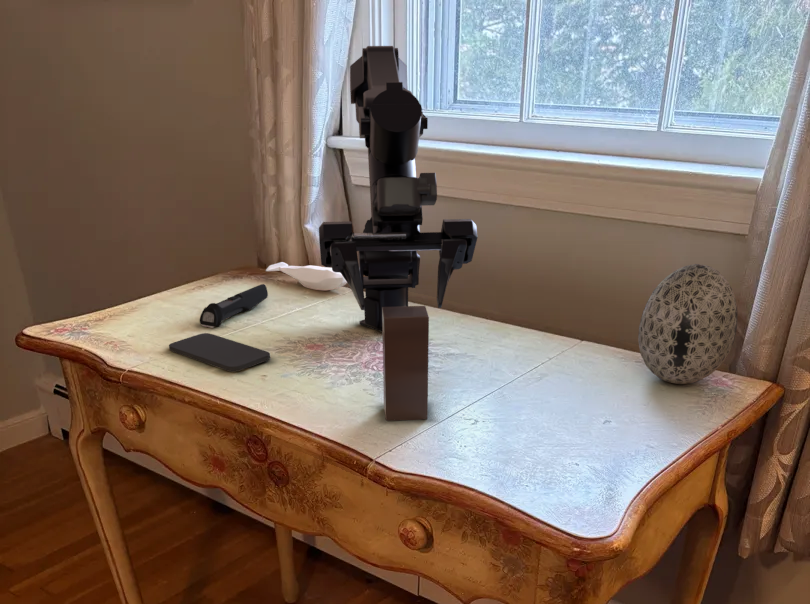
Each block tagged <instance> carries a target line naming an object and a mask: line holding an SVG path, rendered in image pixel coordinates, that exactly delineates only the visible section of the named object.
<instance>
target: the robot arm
mask: <svg viewBox="0 0 810 604" xmlns="http://www.w3.org/2000/svg"><path fill="white" fill-rule="evenodd" d="M361 49H362V54H361V56H360V57H358V59H356V60H355V61H354V62H353V63H352V64H350V66H349V91H350V92H349V93H350V105H355V120H356V122H357V123H358V133H359V139H364V144H365V147H366V148H367V159H368V162H367V163H368V174H369V175H368V178H369V179H368V180H369V196H370V199H369V200H370V215H371V216H370V219H367V220H366V222H365V224H364V229H363V231H362V232H353V222H352V221H323V222H322V223H321V224H320V225H319V226H318V241H319V243H318V244H319V252H320V265H321V266H322V267H327V268H332V271H333V272H339V273H341V274H342V276H343V277H344V279H345V280H346V281H347V284H348V286H349V288H350V289H351V292H352V294H353V296H354V298H355V300H356V302H357V304H358V307H359V309H360V310H361V311H364V319H361V320H359V321H358V322H359V325H360V326H363V327H366V328H369V329H373V330H376V331H379V332H382V307H400V306H409V288H411V289H416V286H419V284H420V283H419V280H420V277H419V276H420V265H421V255H420V254H419V253H418V251H438V253H439V258H438V265H437V282H436V283H437V286H436V303H437V309H442V307H443V303H444V298H445V295H446V291H447V287H448V283H449V282H450V280H451V277H452V275H453V272H454V271H455V270H460V269H462V268H463V265H465V264H467V265H468V264H469V263H471V262H472V261H473V258H474V253H475V249H476V246H477V243H478V242H477V241H478V237H479V236H478V227H477V224H476V223H475V222H474V221H473V220H472V219H471V218H453V219H452V218H449V219H446V218H445V219H442V223H441V229H440V231H435V232H434V231H431V232H430V231H427V232H426V231H423V232H421V226H423V220H424V218H423V216H424V215H423V206H435V205H436V203H437V200H438V184H437V174H436V172H420V173H419V176H418V177H417V168H416V157H417V155H418V151H419V141H420V138H421V137H422V136H423V135H424V130H428V126H429V123H428V122H429V121H428V119H429V118H428V117H426V116H425V114H424V113H423V107H422V104H421V103H420V100H419V99H418V98H417V96H415V95H414V94H413V92H412V91H411V90H408V66H407V64H406V63H405V62H404V61H403V60H402V59H401V58H400V57H399V56H400V55H399V48H398V47H394V46H393V45H367V46H366V47H362V48H361ZM364 290H365V291H364ZM382 333H383V332H382Z"/></svg>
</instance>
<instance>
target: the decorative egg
mask: <svg viewBox="0 0 810 604" xmlns="http://www.w3.org/2000/svg"><path fill="white" fill-rule="evenodd" d="M737 328H738V305H737V299H736V296H735V293H734V290H733V288H732V286H731V285H730V283H729V280H728V279H726V277H725V276H724V275H723V274H722V273H721V272H720V271H718V270H717V269H716V268H714V267H712V266H709V265H707V264H700V263H694V264H693V263H692V264H688V265H686V266H682V267H680V268H678V269H676V270H674V271H673V272H671V273H670V274H668V275H667V276H666V277H665V278H663V280H661V281H660V283H659V284H657V286H656V287H655V288H654V289H653V291H652V293H651V294H650V296H649V297H648V300H647V301H646V304H645V306H644V308H643V311H642V315H641V318H640V322H639V326H638V335H637V336H638V337H637V338H638V347H639V353H640V355H641V358H642V361H643V363H644V365H645V367H647V369H649V371H650V372H651V373H652V374H653V375H654V376H656V377H657V378H659V379H661V380H662V381H665V382H666V383H670V384H671V383H672V384H677V385H687V384H693V383H696V382H699V381H701V380H704V379H705V378H707V377H709V376H710V375H712V374H713V373H714V372H715V371H716V370H718V369H719V368H720V367H721V366H722V364H724V362H725V360H727V358H728V356H729V354H730V352H731V350H732V348H733V345H734V342H735V339H736V335H737Z"/></svg>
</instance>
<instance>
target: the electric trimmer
mask: <svg viewBox="0 0 810 604" xmlns="http://www.w3.org/2000/svg"><path fill="white" fill-rule="evenodd" d="M267 288H268V287H267V286H266V284H265V283H261V284H259V285H256V286H254V287H252V288H249V289H246V290H244V291H241V292H239V293H235V294H234V295H232V296H230V297H227V298H225V299H224V300H222V301H219V302H217V303H216V302H211V303H208V305H207V306H206V307H204V308H203V310H202V311H201V313H200V316H199V324H200V325H201V326H202V327H206V328H207V327H208V328H211V329H215V328H219V327H220V326H221V325H222V322H223V321H226V320H227V319H229V318H231V317H233V316H235V315H237V314H239V313H241V312H244V313H245V312H248V311H250V310H252V309H253V308H255V307H256V306H258V305H259V304H260V303H262V302H264V301H265V300H266V299H267V298H268V296H269V293H268V289H267Z"/></svg>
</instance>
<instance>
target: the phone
mask: <svg viewBox="0 0 810 604" xmlns="http://www.w3.org/2000/svg"><path fill="white" fill-rule="evenodd" d="M168 347H169V351H170V352H173V353H175V354H179V355H180V356H183V357H187V358H190V359H192V360H195V361H199V362H201V363H204V364H206V365H210V366H212V367H216V368H219V369H221V370H224V371H227V372H233V373H234V372H235V373H236V372H240V371H243V370H245V369H248V368H251V367H253V366H256V365H258V364H261V363H264V362H267V361H269V360H270V359H271V353H270V352H269V351H267V350H264V349H261V348H258V347H254V346H251V345H248V344H245V343H242V342H239V341H236V340H232V339H229V338H226V337H223V336H219V335H216V334H213V333H209V332H202V333H198V334H196V335H193V336H189V337H187V338H183V339H180V340H177V341H174V342H171V343H169V344H168Z"/></svg>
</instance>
